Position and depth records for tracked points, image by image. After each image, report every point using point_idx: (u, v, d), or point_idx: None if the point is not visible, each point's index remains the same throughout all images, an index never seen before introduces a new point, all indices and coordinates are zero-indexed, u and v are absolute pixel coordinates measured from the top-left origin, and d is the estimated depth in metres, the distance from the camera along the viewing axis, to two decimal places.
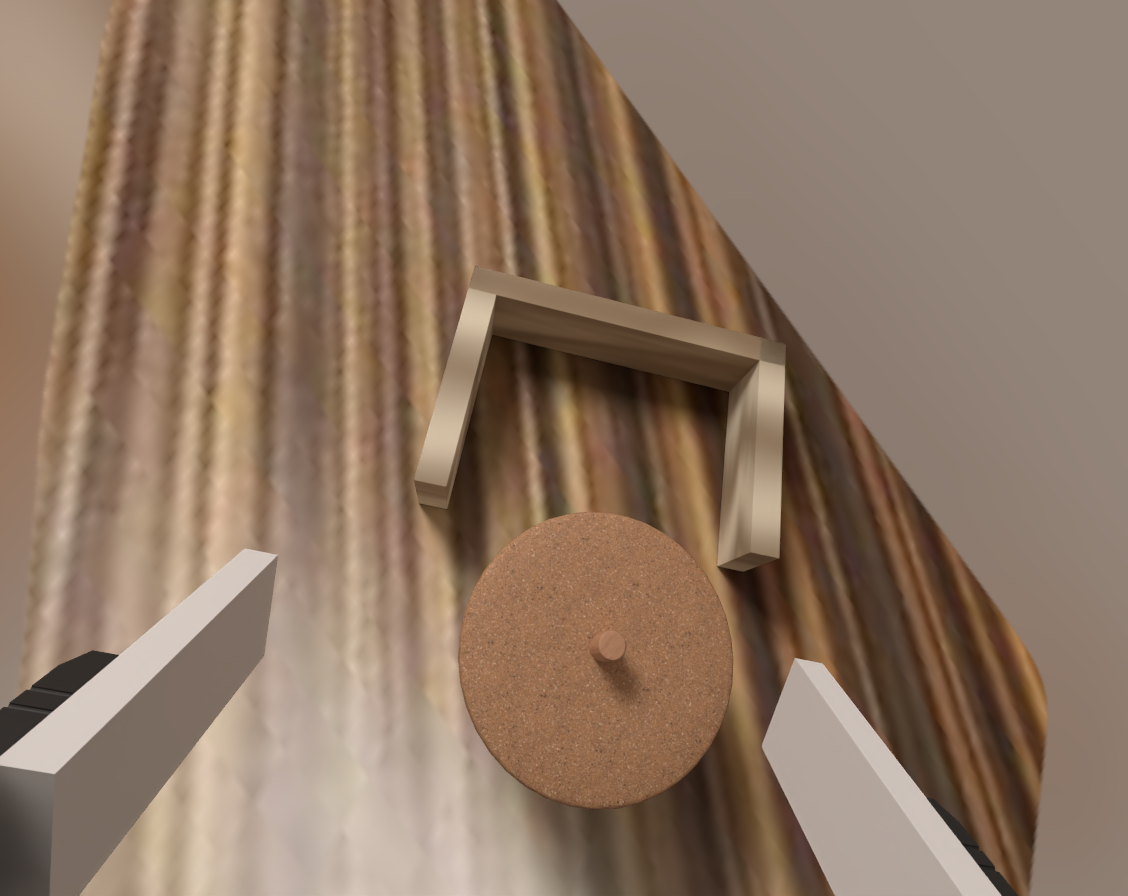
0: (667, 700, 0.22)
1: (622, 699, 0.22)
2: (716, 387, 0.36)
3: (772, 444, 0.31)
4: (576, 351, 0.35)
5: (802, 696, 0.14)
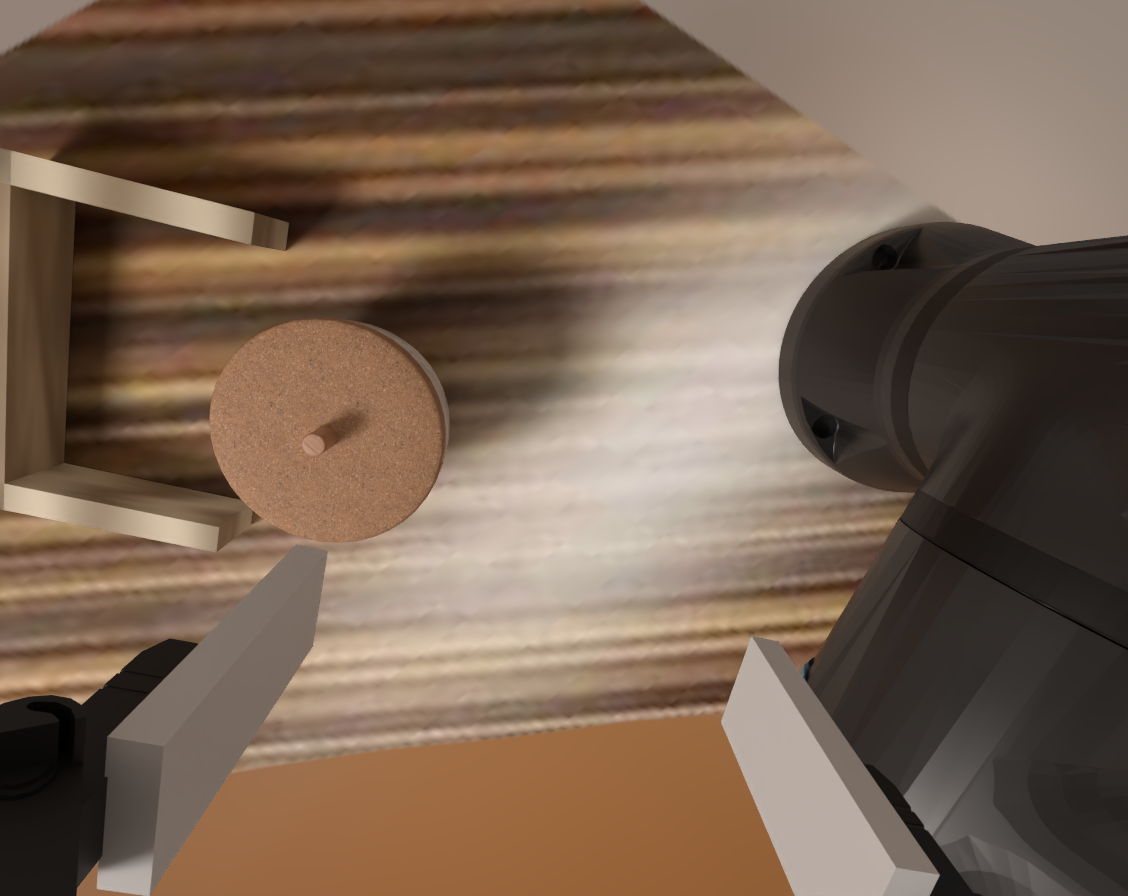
0: (365, 387, 0.27)
1: (365, 424, 0.27)
2: (72, 215, 0.31)
3: (122, 191, 0.28)
4: (62, 379, 0.33)
5: (756, 672, 0.15)
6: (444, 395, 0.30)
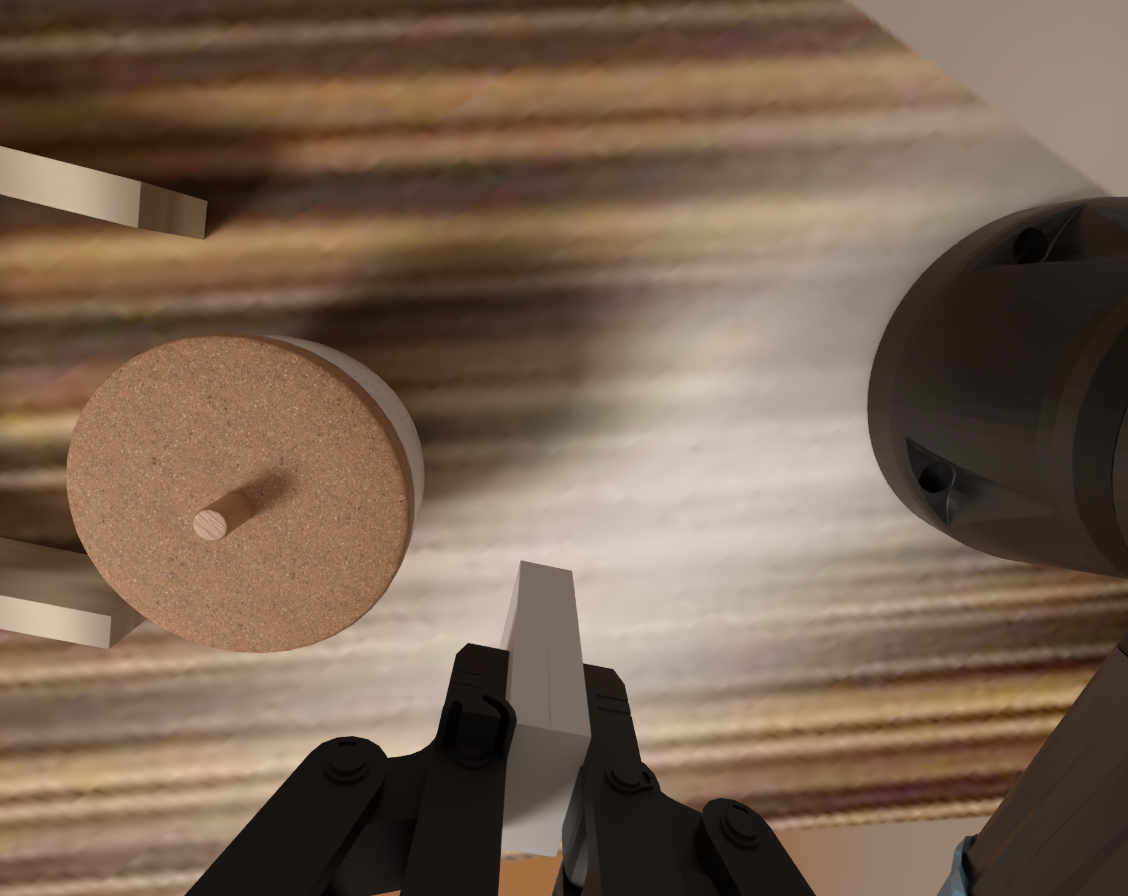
0: (292, 437, 0.18)
1: (293, 490, 0.18)
2: None
3: None
4: None
5: None
6: (416, 439, 0.22)
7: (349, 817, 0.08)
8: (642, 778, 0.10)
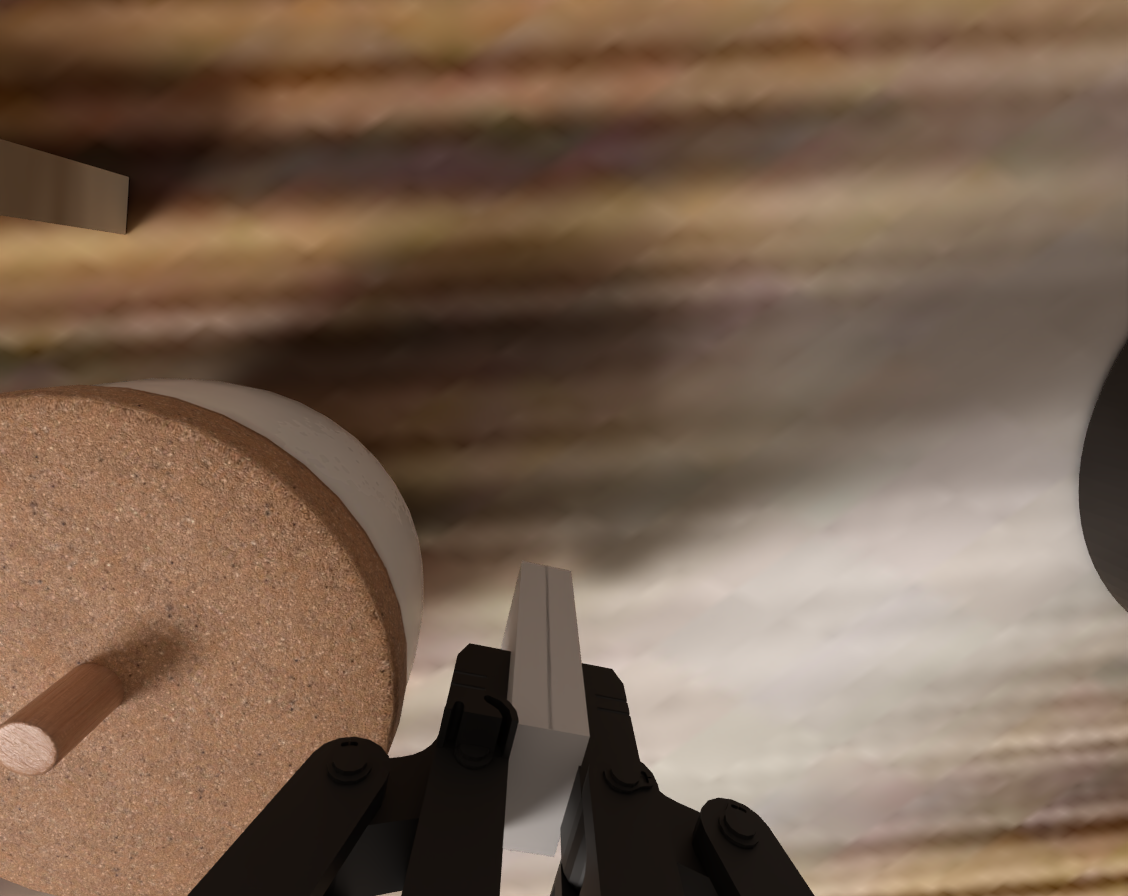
0: (186, 570, 0.10)
1: (193, 658, 0.11)
2: None
3: None
4: None
5: None
6: (409, 537, 0.14)
7: (351, 818, 0.08)
8: (640, 778, 0.10)
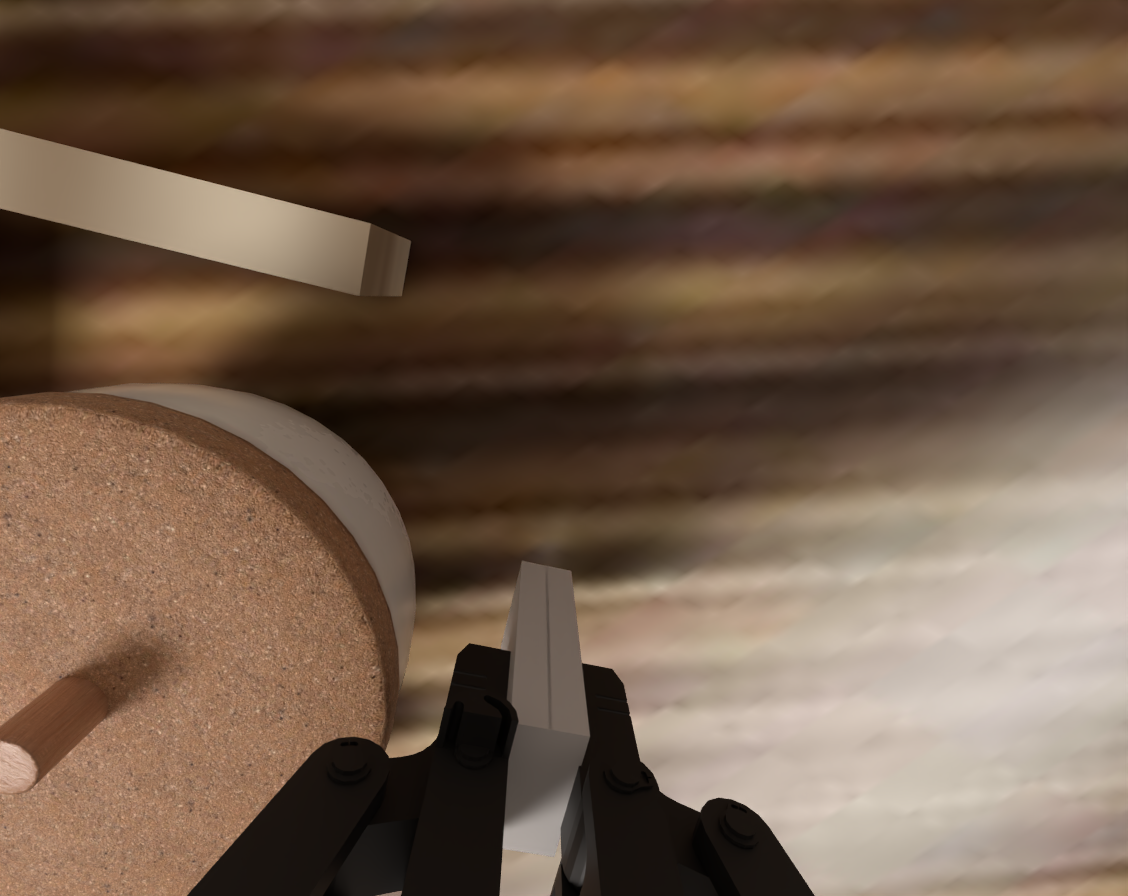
0: (168, 579, 0.10)
1: (178, 668, 0.10)
2: None
3: (62, 174, 0.12)
4: None
5: None
6: (399, 539, 0.14)
7: (351, 818, 0.08)
8: (641, 778, 0.10)
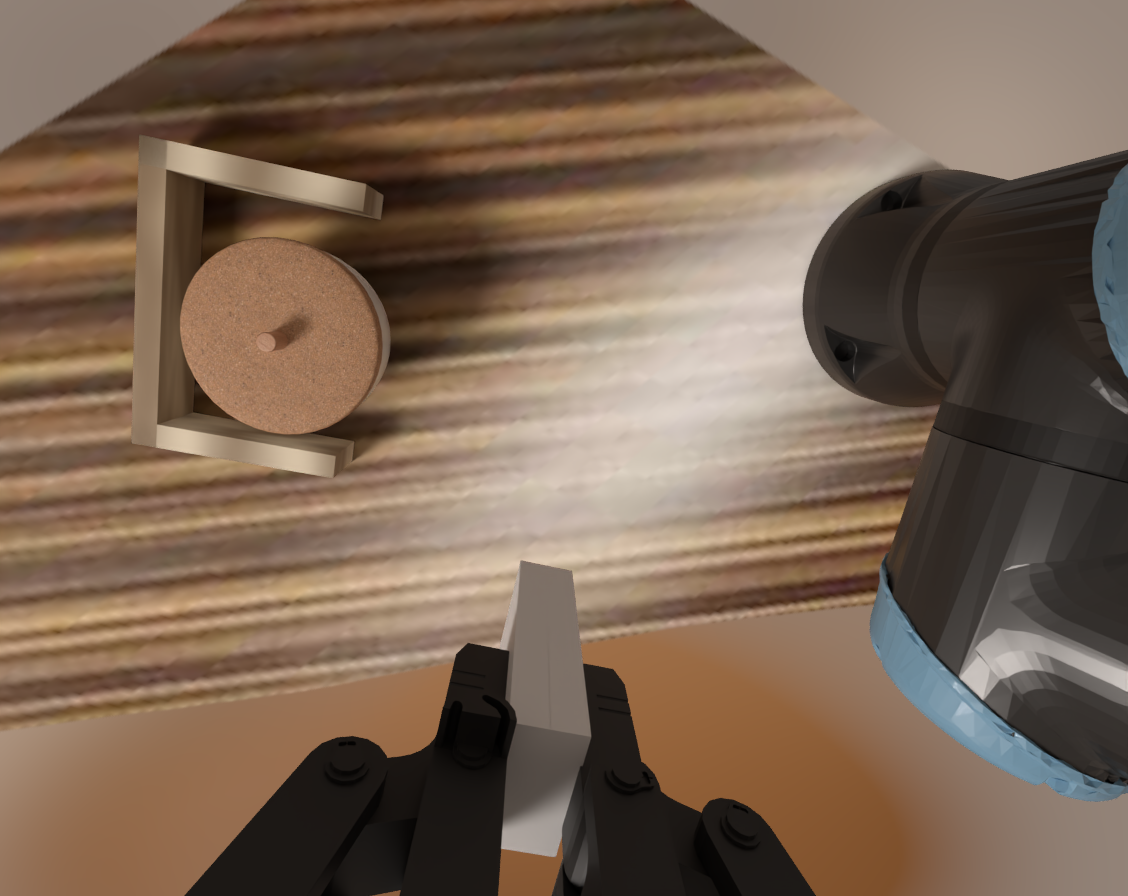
0: (307, 294, 0.32)
1: (310, 327, 0.32)
2: (202, 197, 0.37)
3: (257, 170, 0.34)
4: None
5: None
6: (382, 307, 0.35)
7: (349, 817, 0.08)
8: (642, 778, 0.10)
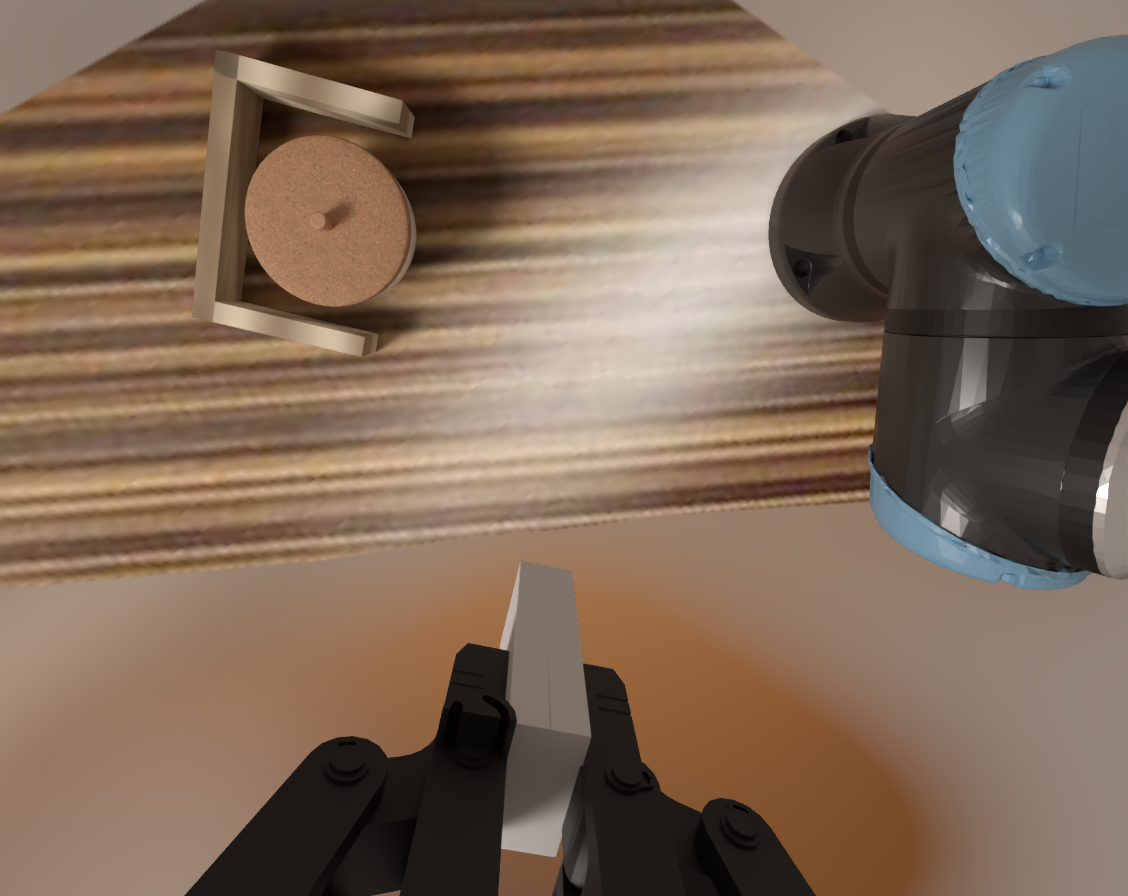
0: (352, 185, 0.38)
1: (353, 213, 0.39)
2: (261, 111, 0.44)
3: (312, 84, 0.40)
4: (246, 234, 0.46)
5: None
6: None
7: (349, 817, 0.08)
8: (642, 778, 0.10)
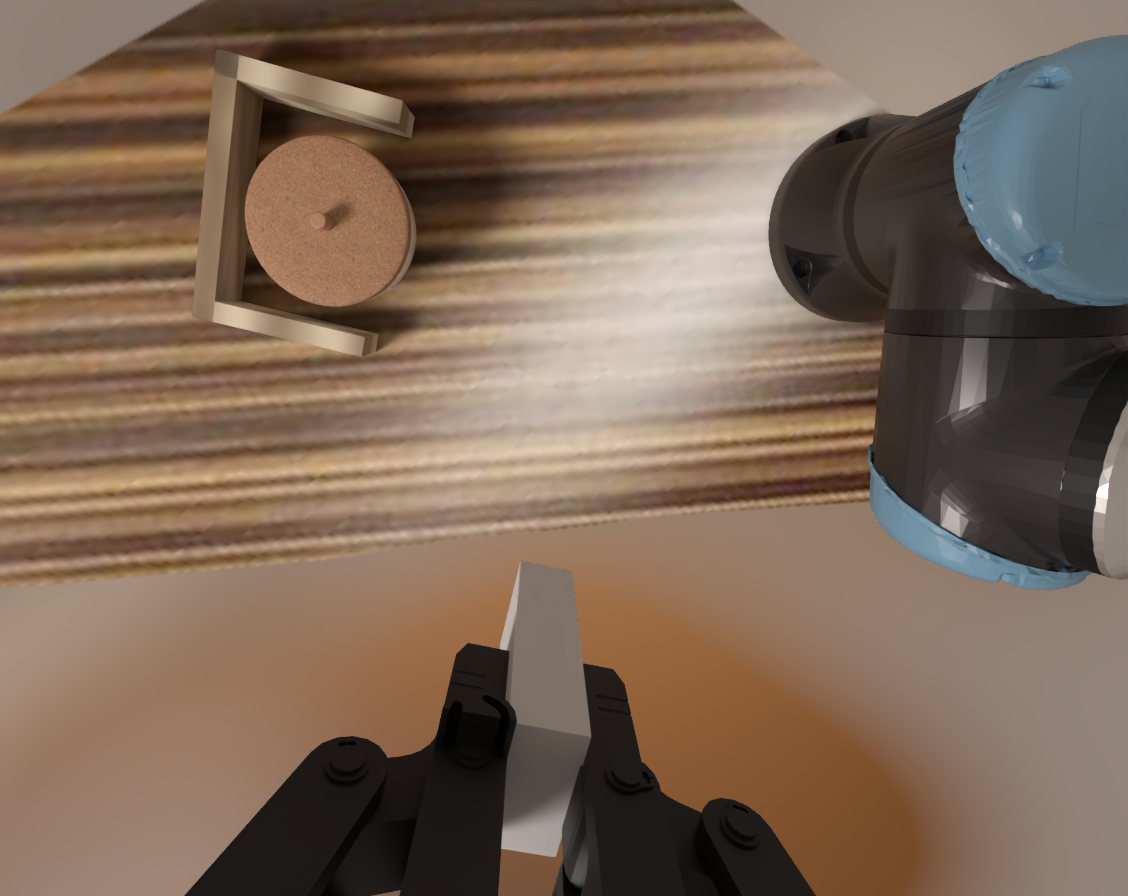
0: (352, 184, 0.38)
1: (353, 213, 0.39)
2: (261, 111, 0.44)
3: (312, 84, 0.40)
4: (246, 234, 0.46)
5: None
6: None
7: (349, 817, 0.08)
8: (642, 778, 0.10)
